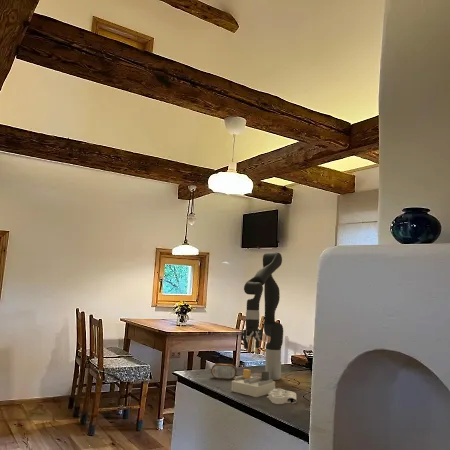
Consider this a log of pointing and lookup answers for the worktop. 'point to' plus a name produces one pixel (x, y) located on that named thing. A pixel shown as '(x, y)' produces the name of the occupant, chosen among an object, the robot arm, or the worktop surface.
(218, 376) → the tin
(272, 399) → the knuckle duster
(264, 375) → the toggle
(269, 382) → the breaker housing
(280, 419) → the worktop surface
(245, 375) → the breaker toggle
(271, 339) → the robot arm
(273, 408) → the worktop surface
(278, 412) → the worktop surface
